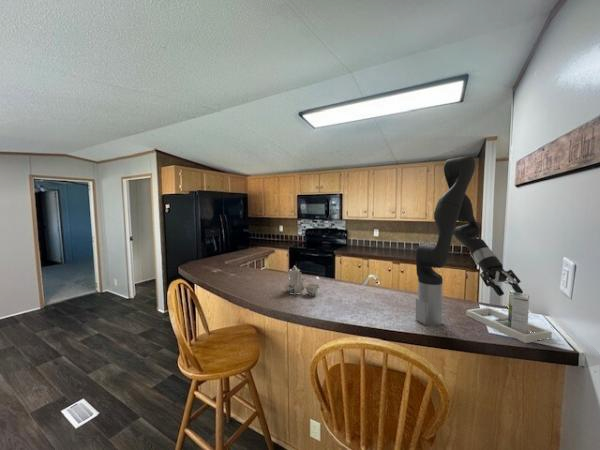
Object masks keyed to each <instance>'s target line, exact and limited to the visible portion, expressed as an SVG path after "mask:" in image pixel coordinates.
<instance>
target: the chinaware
mask: <svg viewBox="0 0 600 450" xmlns="http://www.w3.org/2000/svg"><path fill="white" fill-rule="evenodd" d="M286 275H287V278H288V282H287V284H286V286H285V288H286V291H287V293H288V292H289V293H293V294H297V293H301V292H302V293H303V291H304V290H305V291H306V293H308V295H309V294H311V295H312V296H315V295H316V293H317V292H318V290H319V288H320V285H319V284H318V283H317V284H316V283H315V284H314V283H309V284H305V285H304V281H305V277H302V272H301V269H299V268H298V267H296V265H293V267H292V268H290V269H288V270H287V272H286ZM289 293H288V294H289ZM302 293H301V294H302ZM314 294H315V295H314ZM311 295H310V296H311Z"/></svg>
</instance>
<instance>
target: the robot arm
mask: <svg viewBox="0 0 600 450" xmlns="http://www.w3.org/2000/svg"><path fill="white" fill-rule="evenodd" d="M475 169H476V161H475V158H474V157H472V156H467V155H466V156H461V157H455V158H454V157H453V158H449V159H447V160H446V161H445V162H444V164H443V174H444V178H445V181H446V185H447V187H448V189H447V191H446V192H445V193H443V195H442V196H441V197H440V198H439V199H438V201H437V203H436V206H435V209H434V212H433V219H434V222H435V225H436V228H437V233H438V237H437V241H436V244H430V243H421V244H420V245H418V246H417V249H416V253H415V265H416V266H415V267H416V276H417V297H416V298H415V320H416V321H417V322H420V323H421V324H423V325H424V326H431V327H437V326H438V327H439V326H441V325H443V323H442V321H443V282H444V281H443V276H442V275H441V274H440V273H438V272H436V271H435V270H434V269H433V268H437V269H441V268H443V267H445V266H446V265H447V262H448V258H449V256H450V255H449V254H450V249H451V244H452V239H453V236H454V238H456V240H458V241H459V242H460V243H461V244H462V245H464V247H465V248H467V249H468V250H469V252H470V253H471V254H472V256H473V258H474V260H475V262H476V263H477V265H478V267H480V269H481V271H482V272H480V274H479V277H481V279H482V281H483V283H484V285H485V286H486V287H487V288H488V287H490V288H492V289H493V290H494V291H495V293H496V294H497V296H499V297H502V296H504V294H505V292H504V291H503V289H502V288H501V287H500V285H498V283H499V282H501V283H505V284H507V285H509V286H511V288H512V289H513V290H514V291H513V292H517V293H522V294H524V291H523V289H522V288H521V287H520V285H519V284H520V283H521V282H522V281H521V280H520V278H519V277H518V276H517V275H516V273H514V271H513V270H512V269H508V270H505V269H504V268H503V267H504V266H503V264H502V262H501V261H500V259H499V258H498V257H497V255H496V254H495V253H494V252H493V250H492V249H490V247H489V246H488V245H487V243H486V242H485V240H484V239H482V238H477V237H479V236H480V233H481V229H480V227H479V224H478V223H477V220H476V218H475V216H474V209H473V202H472V201H471V199H470V197H469V196H468V195H467V194H466V193H467V190H468V188H469V185H470V183H471V180H472V178H473V175H474V173H475ZM457 222H461V223H467V224H462V225H458V226H456V225H457Z"/></svg>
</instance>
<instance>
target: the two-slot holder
mask: <svg viewBox="0 0 600 450" xmlns="http://www.w3.org/2000/svg"><path fill="white" fill-rule="evenodd" d="M484 315H491V316H493V317H495V318H497V319H490V318H488V317H486V316H484ZM465 316H466V317H468V318H470V319H472V320H474V321H477V322H479V323H481V324H484V325H485V326H488V327H490V328H492V329H494V330H497V331H499V332H500V333H503V334H505V335H507V336H509V337H511V338H513V339H517V341H520V342H522V343H525V344H528V343H529V344H530V343H533V342H534V341H535V342H538V341H537V340H540V339H546V340H548V339H547V338H551V339H552V336H553V332H552V331H550V330H548V329H545V328H543V327H541V326H538V325H535V324H532V323H530V322H528V328H527V334H523V333H521V332H518V331H516V330H514V329H511V328H509V327H508V313H504V312H502V311H498V310H496V309H494V308H491V307H489V306H487V307H480V308H479V307H478V308H472V309H465ZM529 330H530V331H533V333H530V331H529ZM534 332H535V333H534ZM540 341H541V340H540ZM535 342H534V343H535Z"/></svg>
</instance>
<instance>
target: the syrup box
mask: <svg viewBox="0 0 600 450" xmlns="http://www.w3.org/2000/svg"><path fill="white" fill-rule="evenodd" d="M507 310H508V313H507V315H508V327H509V328H511V329H514V330H516V331H518V332H521V333H523V334H527V328H528V323H529V310H530V295H529V294H526V293H517V292H515V291H510V293H509V300H508V309H507Z"/></svg>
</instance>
